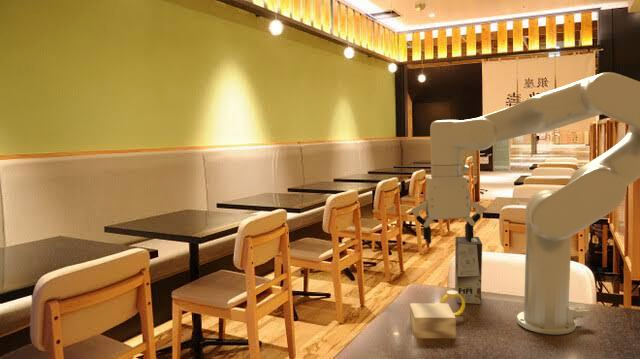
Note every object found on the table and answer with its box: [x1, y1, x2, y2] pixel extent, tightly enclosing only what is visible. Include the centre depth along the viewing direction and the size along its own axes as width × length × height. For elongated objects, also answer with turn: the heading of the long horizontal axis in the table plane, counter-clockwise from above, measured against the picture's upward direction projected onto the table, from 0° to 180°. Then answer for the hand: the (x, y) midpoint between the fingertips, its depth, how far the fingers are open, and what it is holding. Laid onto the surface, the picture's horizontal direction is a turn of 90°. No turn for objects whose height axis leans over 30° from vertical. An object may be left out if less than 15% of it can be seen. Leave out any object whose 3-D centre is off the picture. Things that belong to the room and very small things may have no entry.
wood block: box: [409, 302, 457, 339], centre depth 120 cm, size 9×9×5 cm
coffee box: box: [454, 236, 483, 305], centre depth 140 cm, size 9×6×16 cm
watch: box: [440, 289, 466, 317], centre depth 128 cm, size 6×3×6 cm, turn 98°
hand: (448, 241), depth 126 cm, fingers open, 9 cm apart
